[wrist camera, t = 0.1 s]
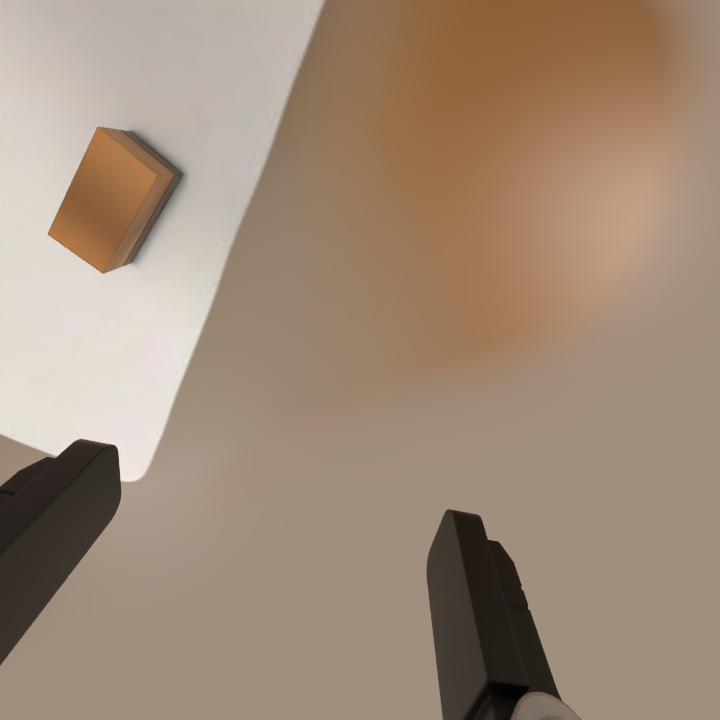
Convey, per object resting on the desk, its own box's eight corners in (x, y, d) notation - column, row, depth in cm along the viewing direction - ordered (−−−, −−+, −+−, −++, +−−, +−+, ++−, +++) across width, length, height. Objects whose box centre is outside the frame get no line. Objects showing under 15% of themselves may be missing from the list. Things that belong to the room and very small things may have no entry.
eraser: (130, 130, 23) (97, 126, 20) (183, 174, 24) (158, 174, 21) (81, 227, 26) (46, 234, 23) (131, 263, 26) (103, 274, 24)
